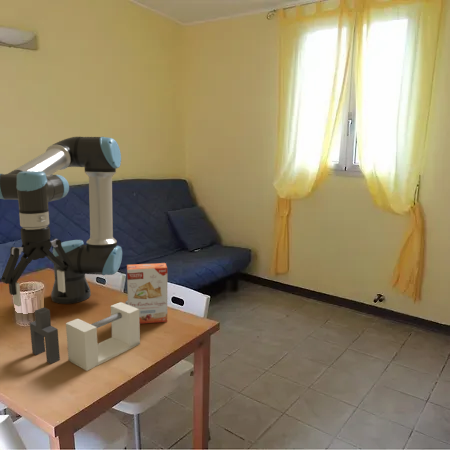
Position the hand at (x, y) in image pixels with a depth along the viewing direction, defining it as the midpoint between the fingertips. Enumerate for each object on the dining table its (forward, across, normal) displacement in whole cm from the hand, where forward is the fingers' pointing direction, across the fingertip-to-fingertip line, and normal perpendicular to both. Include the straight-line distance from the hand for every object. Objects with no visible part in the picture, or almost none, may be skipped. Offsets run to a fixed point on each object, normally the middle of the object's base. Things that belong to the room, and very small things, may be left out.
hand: (40, 297), depth 121 cm
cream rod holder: (+19, +13, -12) cm, 26 cm away
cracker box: (+19, +37, -5) cm, 42 cm away
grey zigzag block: (+19, 0, 0) cm, 19 cm away
